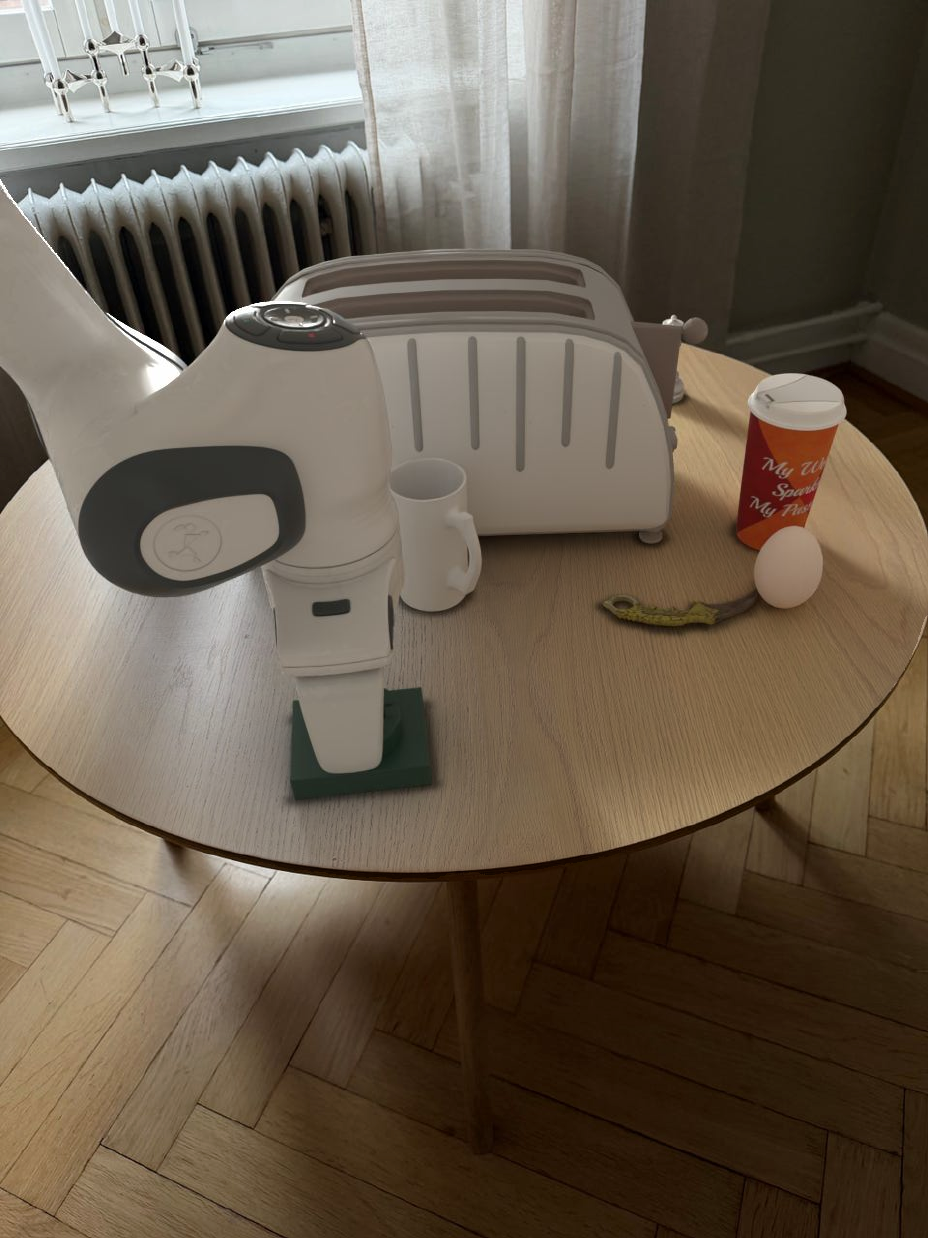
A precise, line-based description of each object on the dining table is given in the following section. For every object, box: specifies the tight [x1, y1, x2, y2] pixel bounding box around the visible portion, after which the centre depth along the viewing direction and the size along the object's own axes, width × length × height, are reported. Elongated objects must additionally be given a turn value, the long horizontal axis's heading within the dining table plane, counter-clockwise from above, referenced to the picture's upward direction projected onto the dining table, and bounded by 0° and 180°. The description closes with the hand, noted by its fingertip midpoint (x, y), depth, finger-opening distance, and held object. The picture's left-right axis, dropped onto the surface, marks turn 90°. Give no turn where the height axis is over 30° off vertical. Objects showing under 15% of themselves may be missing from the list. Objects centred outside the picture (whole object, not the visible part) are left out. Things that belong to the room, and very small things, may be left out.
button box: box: [289, 686, 433, 801], centre depth 68 cm, size 10×8×4 cm
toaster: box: [270, 248, 709, 544], centre depth 88 cm, size 21×45×22 cm, turn 91°
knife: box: [602, 587, 760, 627], centre depth 80 cm, size 14×1×5 cm
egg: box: [753, 526, 824, 609], centre depth 79 cm, size 6×6×8 cm
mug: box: [389, 457, 483, 613], centre depth 79 cm, size 10×7×12 cm, turn 40°
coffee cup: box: [735, 372, 847, 551], centre depth 84 cm, size 8×8×15 cm
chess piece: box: [662, 314, 685, 405], centre depth 107 cm, size 4×4×10 cm
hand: (357, 713), depth 67 cm, fingers closed, pressing on button
